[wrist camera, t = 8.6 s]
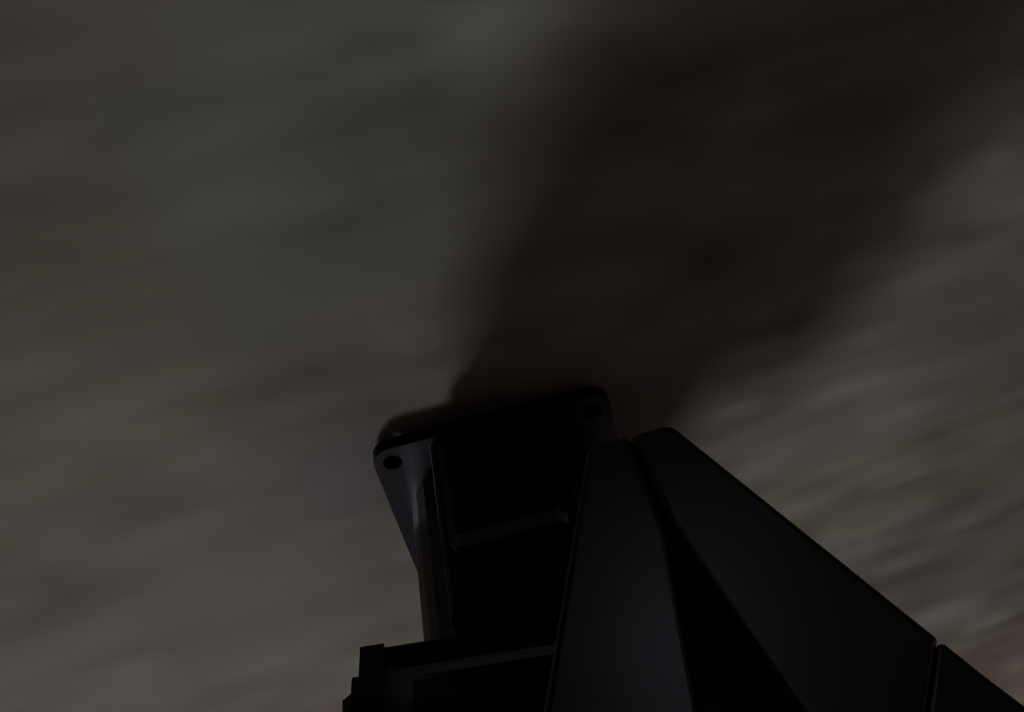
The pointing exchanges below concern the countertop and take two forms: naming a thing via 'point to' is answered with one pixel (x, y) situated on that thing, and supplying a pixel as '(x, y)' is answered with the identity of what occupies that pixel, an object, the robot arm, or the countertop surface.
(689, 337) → the countertop surface
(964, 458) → the countertop surface
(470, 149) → the countertop surface
